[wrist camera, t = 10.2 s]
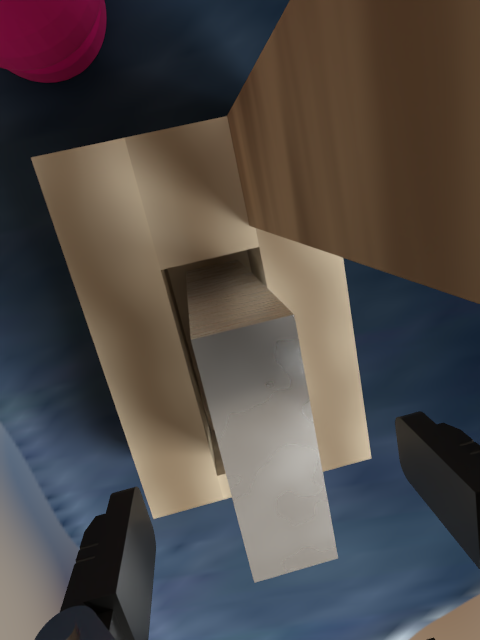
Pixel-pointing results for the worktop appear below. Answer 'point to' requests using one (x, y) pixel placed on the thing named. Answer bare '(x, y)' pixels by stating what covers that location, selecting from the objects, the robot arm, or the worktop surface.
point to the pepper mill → (50, 37)
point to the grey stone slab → (261, 418)
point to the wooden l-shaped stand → (278, 218)
